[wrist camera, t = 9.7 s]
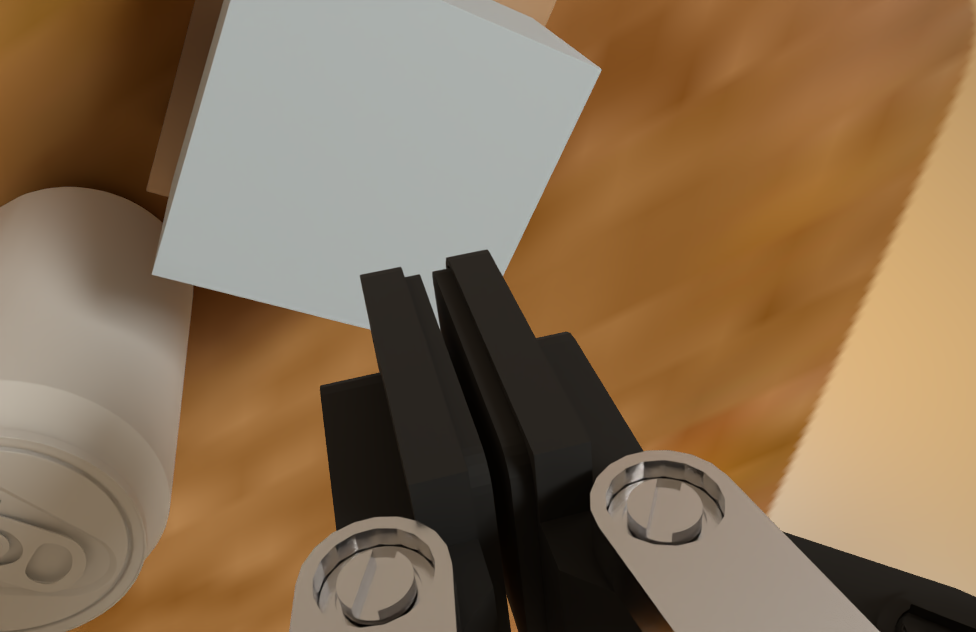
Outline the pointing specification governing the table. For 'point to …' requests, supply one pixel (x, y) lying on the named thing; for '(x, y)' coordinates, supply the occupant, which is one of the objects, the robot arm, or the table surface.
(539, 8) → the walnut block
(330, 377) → the table surface
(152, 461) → the beverage can
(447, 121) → the pale gray block
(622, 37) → the table surface
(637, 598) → the robot arm
